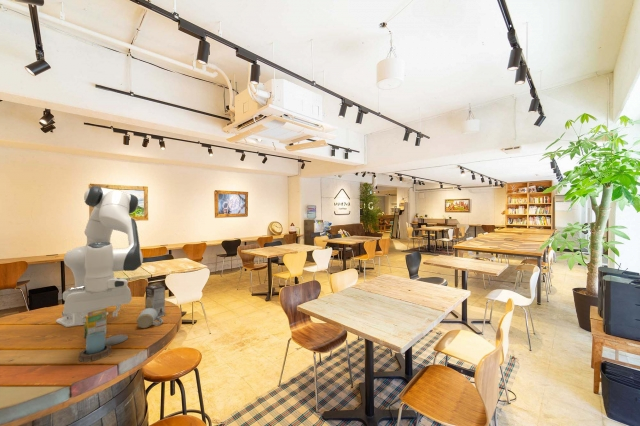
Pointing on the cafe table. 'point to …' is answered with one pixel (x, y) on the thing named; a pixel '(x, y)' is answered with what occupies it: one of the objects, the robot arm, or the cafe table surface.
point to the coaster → (116, 339)
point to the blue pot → (95, 342)
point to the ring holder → (96, 356)
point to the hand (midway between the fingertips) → (99, 319)
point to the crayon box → (96, 322)
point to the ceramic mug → (148, 318)
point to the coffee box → (156, 299)
